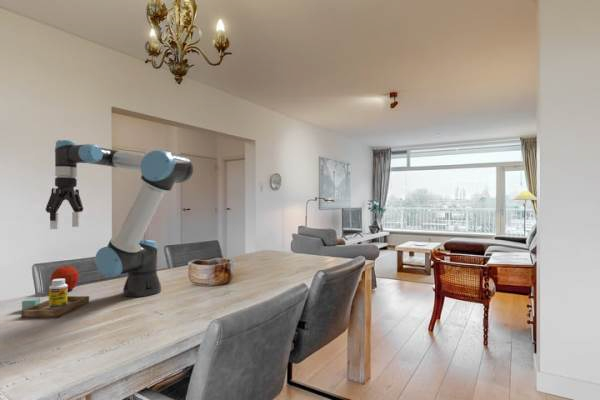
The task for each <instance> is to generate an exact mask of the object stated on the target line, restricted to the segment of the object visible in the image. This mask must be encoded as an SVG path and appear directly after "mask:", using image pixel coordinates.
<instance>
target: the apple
mask: <svg viewBox="0 0 600 400" xmlns="http://www.w3.org/2000/svg"><path fill="white" fill-rule="evenodd" d="M79 277H80V276H79V271H78V270H77V269H76V268H75V267H73V266H70V265H69V266H66V265H64V266H59V267H57V268H56V269H55V270H53V272H52V274H51V276H50V283H51V284H50V285H52V280H54V279H65V284H67V285H68V291H72V290H73V289H74V288H76V287H77V285H78V281H79Z"/></svg>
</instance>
